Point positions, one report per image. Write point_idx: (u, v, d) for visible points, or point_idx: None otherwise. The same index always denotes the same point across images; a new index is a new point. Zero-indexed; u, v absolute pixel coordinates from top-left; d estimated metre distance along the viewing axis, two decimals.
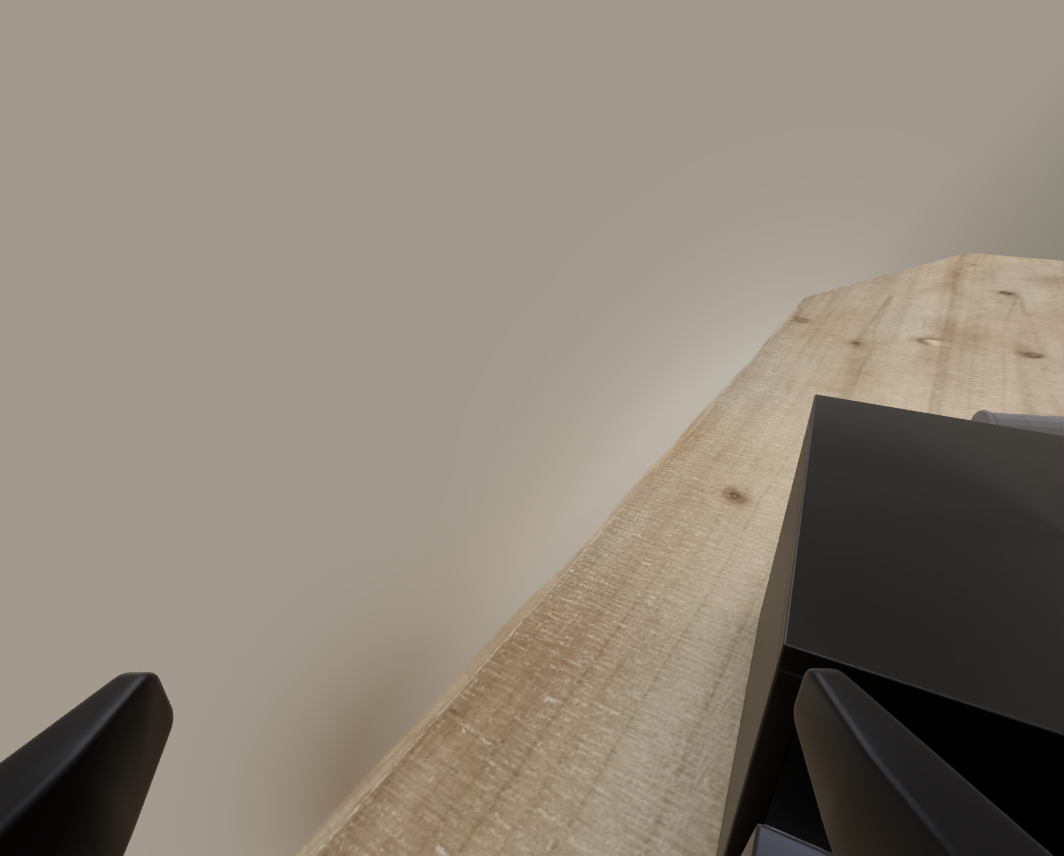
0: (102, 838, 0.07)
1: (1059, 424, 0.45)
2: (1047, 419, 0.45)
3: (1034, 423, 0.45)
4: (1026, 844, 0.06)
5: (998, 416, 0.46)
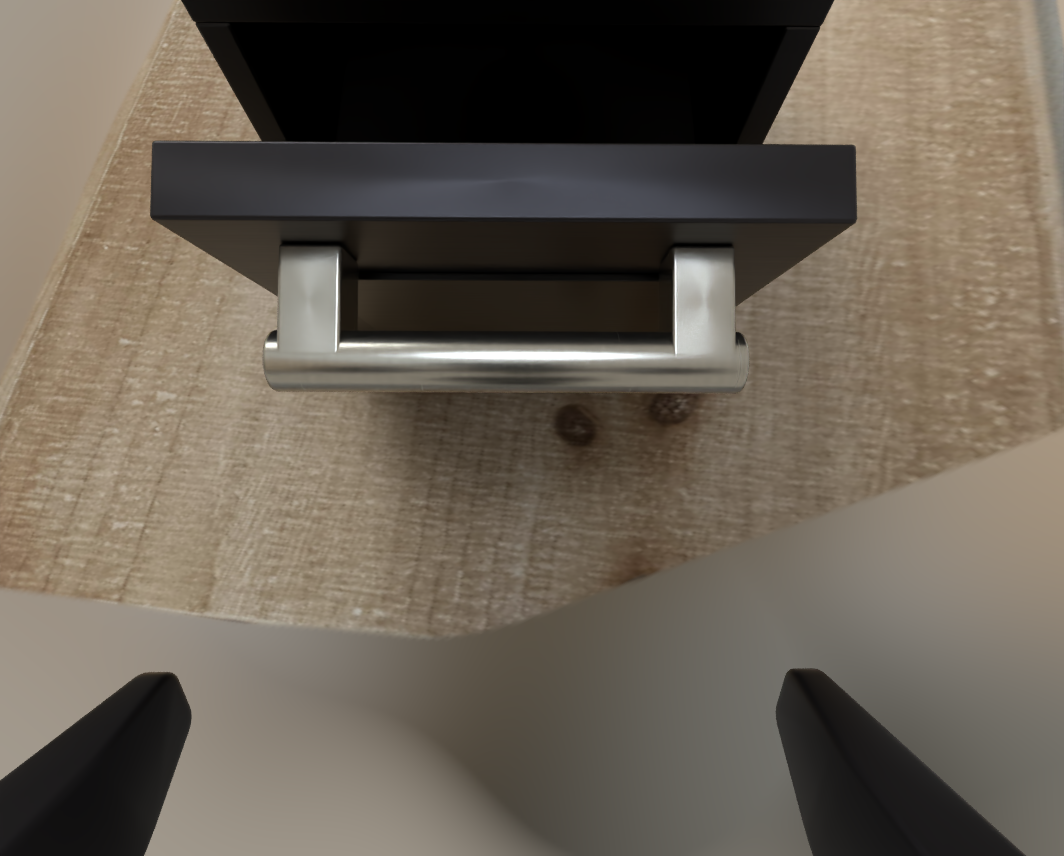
0: (124, 838, 0.07)
1: None
2: None
3: None
4: (999, 844, 0.06)
5: None
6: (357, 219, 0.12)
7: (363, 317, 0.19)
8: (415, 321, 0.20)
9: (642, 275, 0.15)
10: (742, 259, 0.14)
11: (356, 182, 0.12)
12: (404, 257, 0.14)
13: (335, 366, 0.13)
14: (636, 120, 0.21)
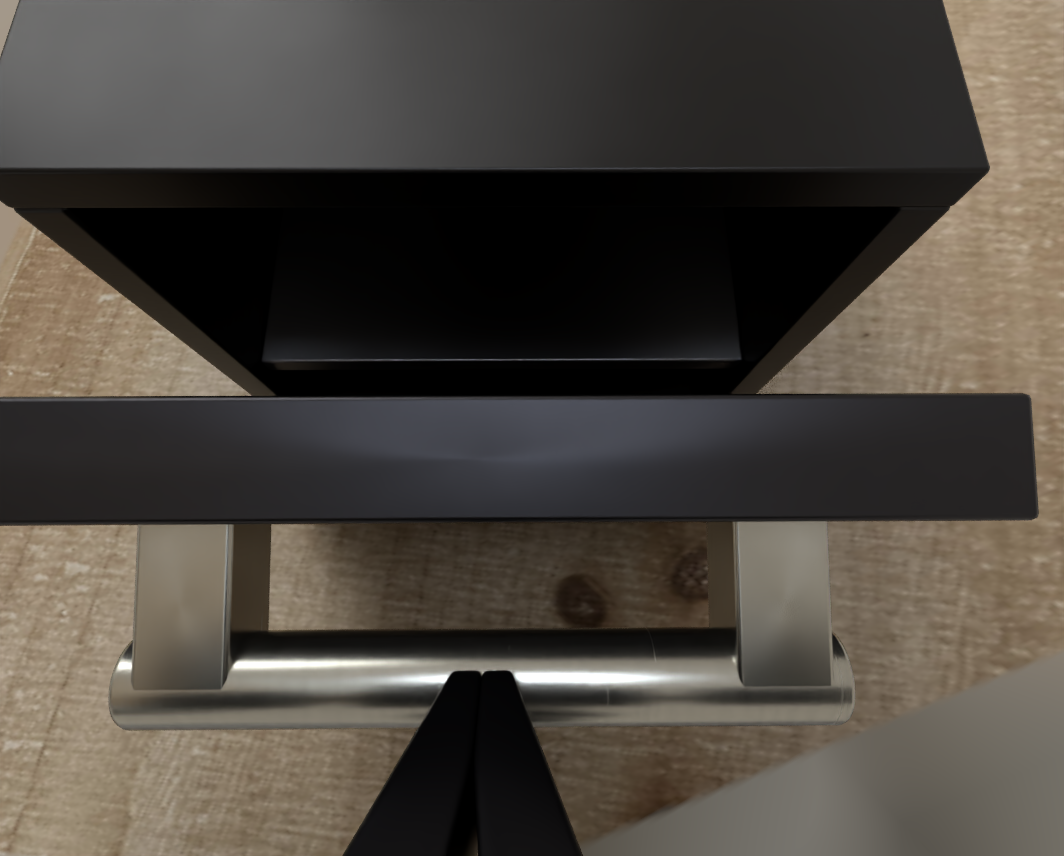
0: (473, 835, 0.07)
1: None
2: None
3: None
4: (562, 848, 0.06)
5: None
6: (240, 523, 0.07)
7: None
8: None
9: None
10: None
11: (237, 464, 0.07)
12: None
13: (221, 709, 0.08)
14: (656, 243, 0.16)
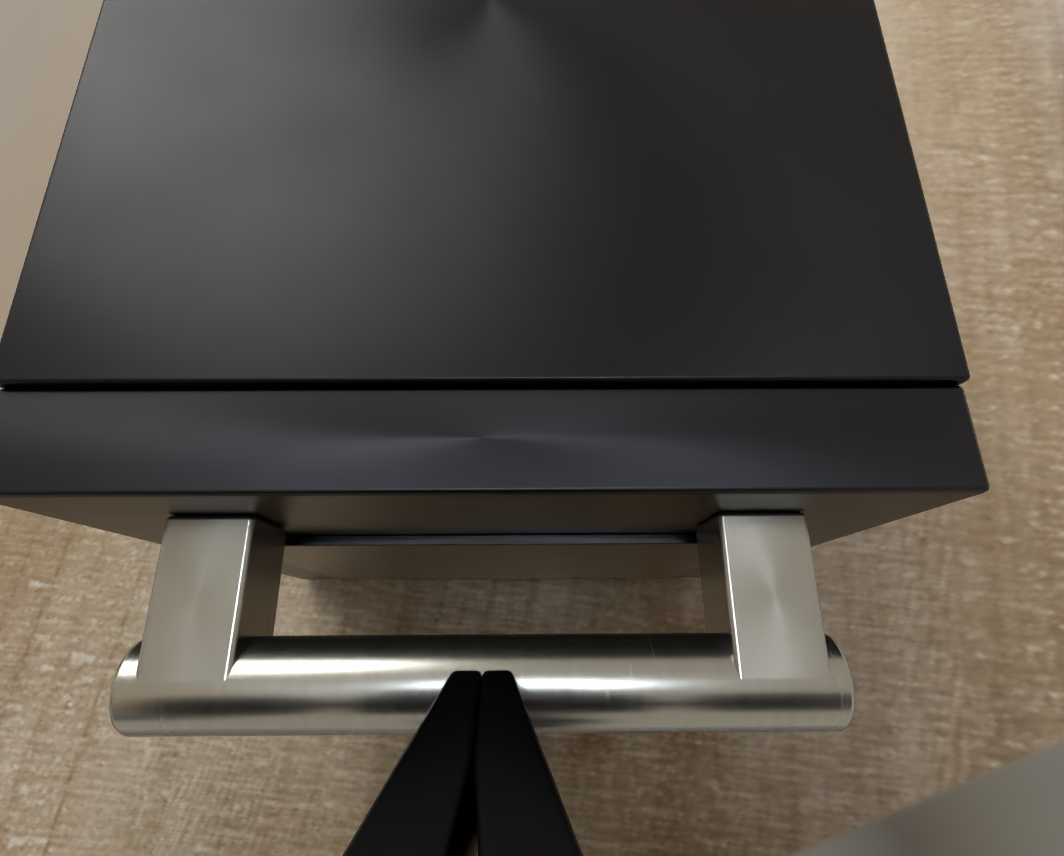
0: (473, 835, 0.07)
1: None
2: None
3: None
4: (562, 848, 0.06)
5: None
6: (266, 494, 0.08)
7: (311, 569, 0.15)
8: (378, 571, 0.16)
9: (671, 534, 0.11)
10: (810, 521, 0.10)
11: (271, 443, 0.08)
12: (348, 524, 0.10)
13: (220, 704, 0.08)
14: None
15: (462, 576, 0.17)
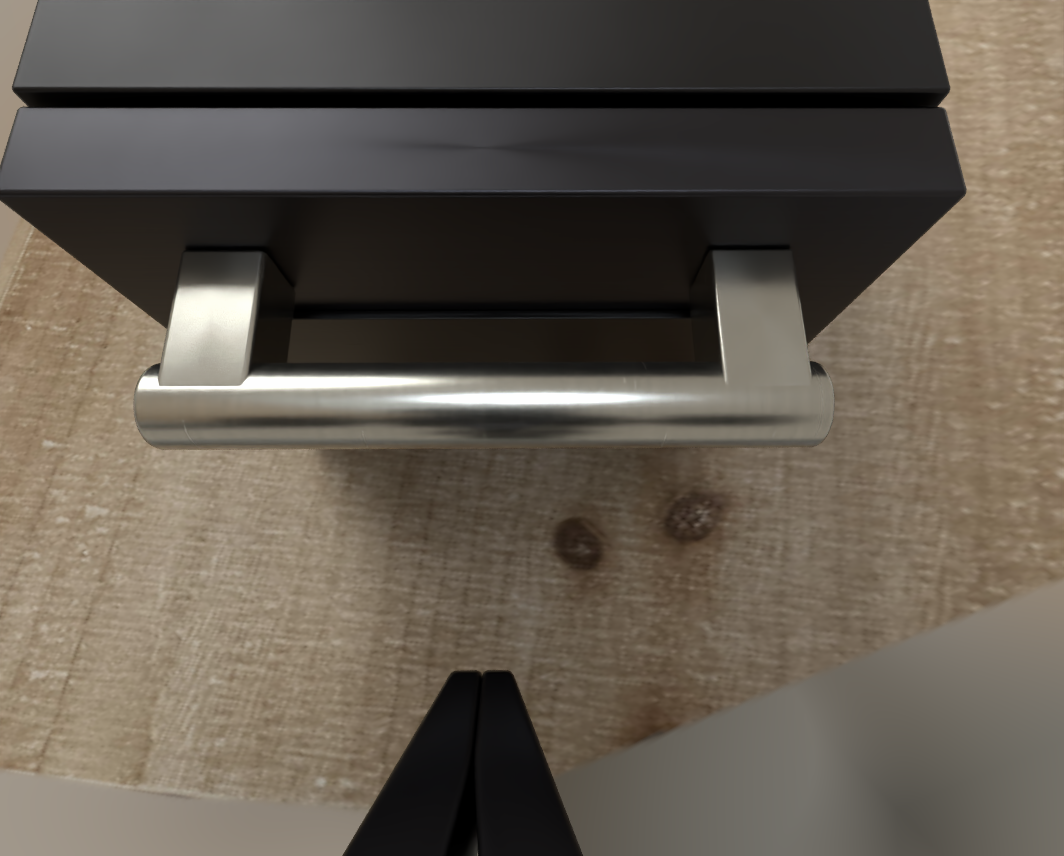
0: (473, 835, 0.07)
1: None
2: None
3: None
4: (562, 848, 0.06)
5: None
6: (279, 194, 0.08)
7: None
8: None
9: (664, 313, 0.12)
10: (798, 278, 0.11)
11: (282, 151, 0.09)
12: (355, 278, 0.11)
13: (238, 405, 0.09)
14: None
15: None
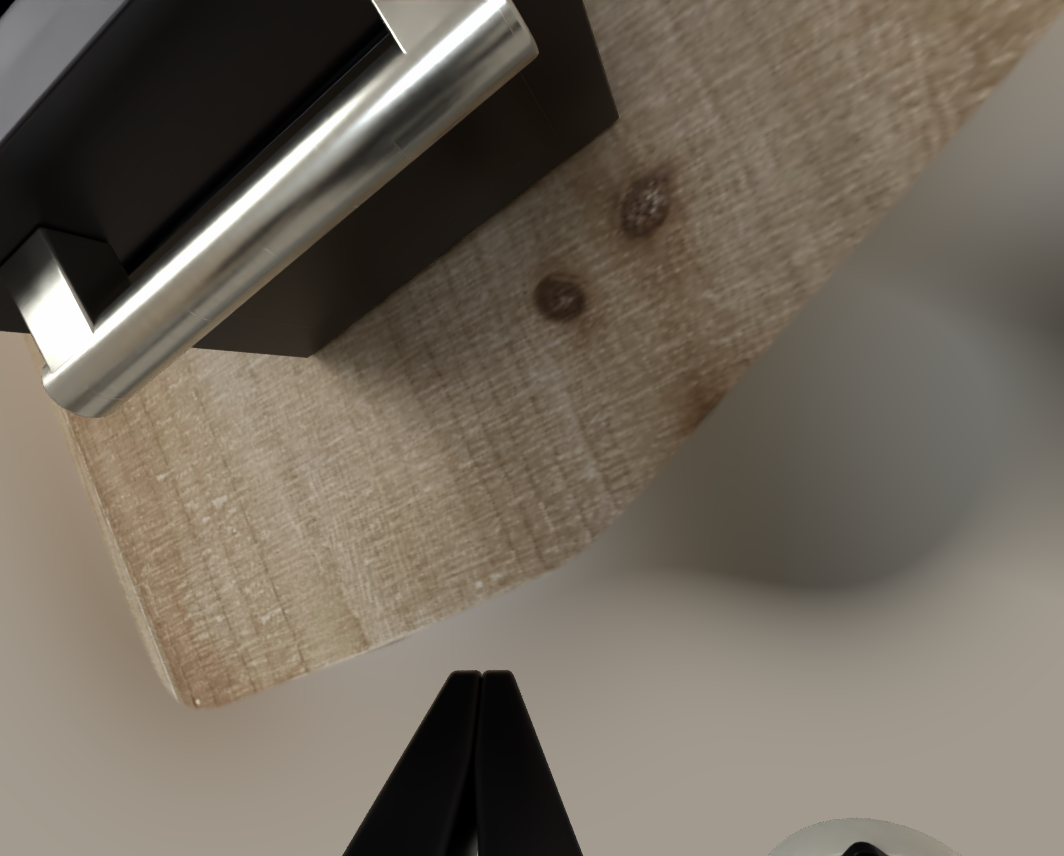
0: (473, 835, 0.07)
1: None
2: None
3: None
4: (562, 848, 0.06)
5: None
6: None
7: (251, 316, 0.17)
8: (303, 288, 0.17)
9: None
10: None
11: None
12: (129, 200, 0.11)
13: (103, 351, 0.11)
14: None
15: (382, 257, 0.18)
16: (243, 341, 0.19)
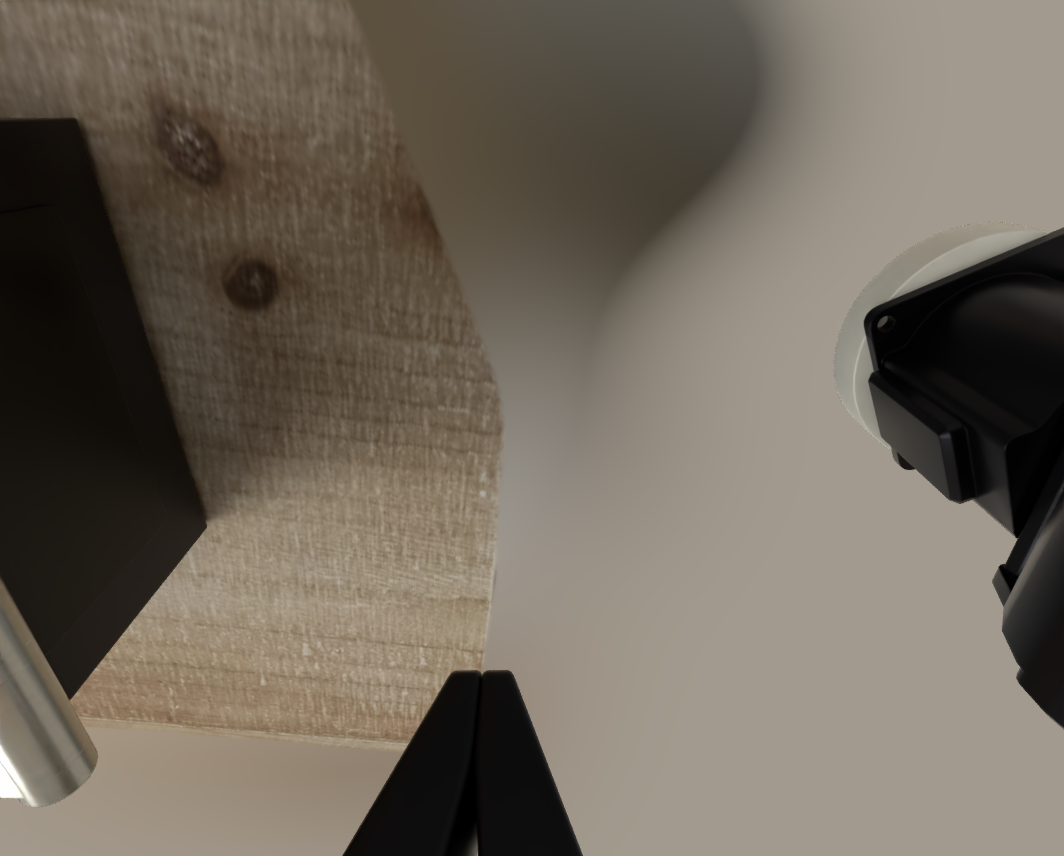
0: (473, 835, 0.07)
1: None
2: None
3: None
4: (561, 847, 0.06)
5: None
6: None
7: (114, 575, 0.17)
8: (108, 520, 0.17)
9: None
10: None
11: None
12: None
13: (15, 757, 0.11)
14: None
15: (118, 432, 0.18)
16: (145, 585, 0.19)
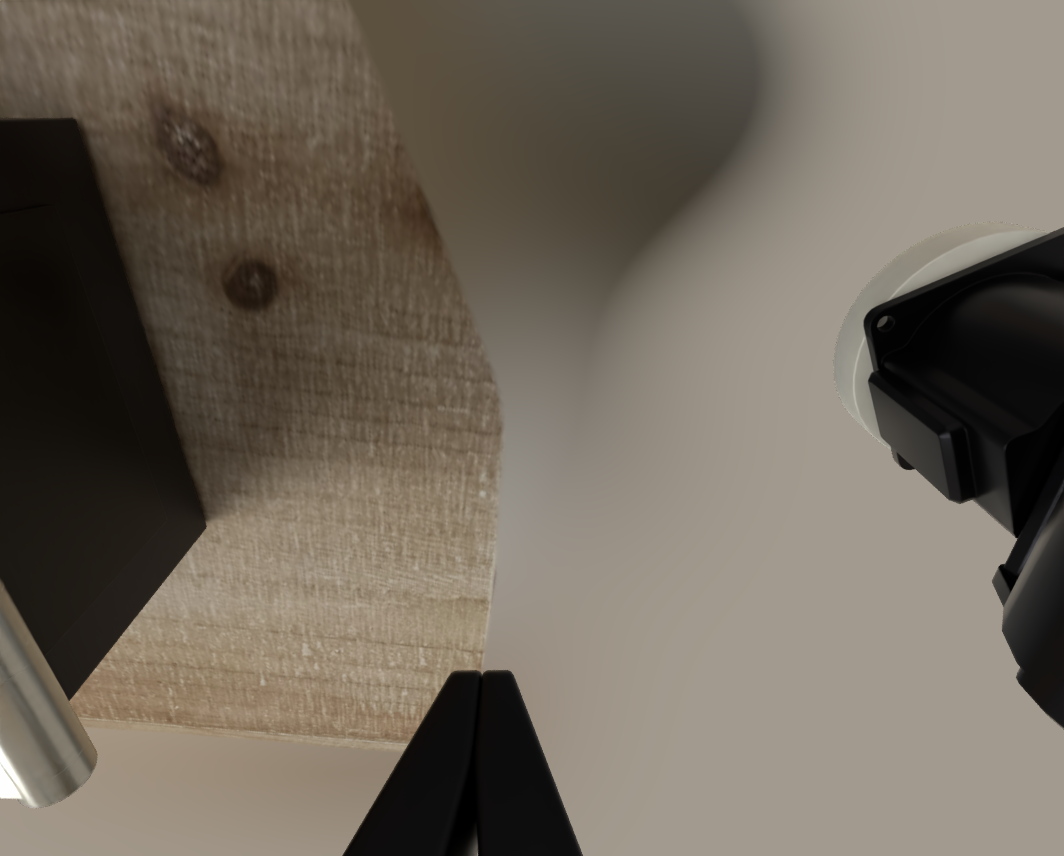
0: (473, 835, 0.07)
1: None
2: None
3: None
4: (562, 848, 0.06)
5: None
6: None
7: (113, 576, 0.17)
8: (108, 520, 0.17)
9: None
10: None
11: None
12: None
13: (15, 758, 0.11)
14: None
15: (117, 433, 0.18)
16: (144, 586, 0.19)
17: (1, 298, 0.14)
